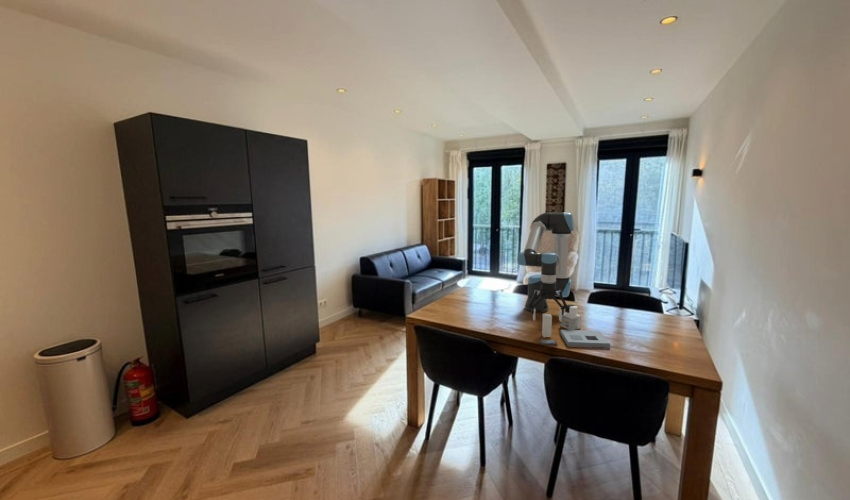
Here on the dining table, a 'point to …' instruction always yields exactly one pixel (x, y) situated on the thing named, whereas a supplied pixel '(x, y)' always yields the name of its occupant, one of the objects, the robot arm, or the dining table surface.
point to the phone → (548, 342)
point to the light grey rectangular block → (546, 325)
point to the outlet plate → (584, 338)
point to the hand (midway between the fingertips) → (547, 320)
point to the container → (571, 318)
